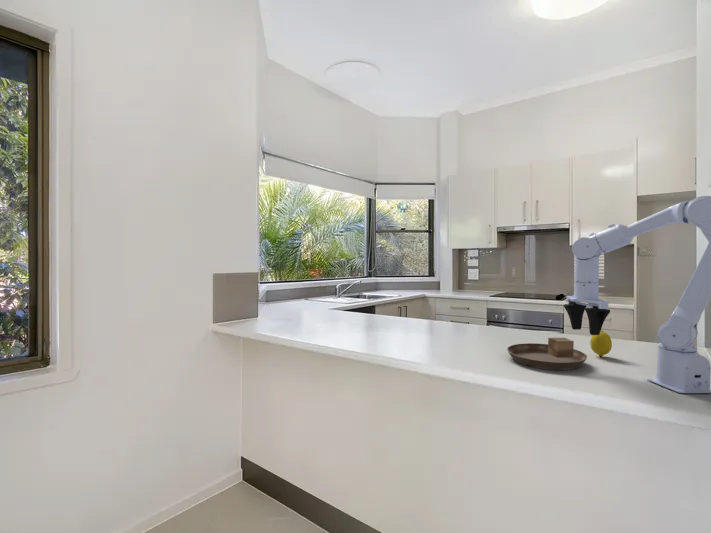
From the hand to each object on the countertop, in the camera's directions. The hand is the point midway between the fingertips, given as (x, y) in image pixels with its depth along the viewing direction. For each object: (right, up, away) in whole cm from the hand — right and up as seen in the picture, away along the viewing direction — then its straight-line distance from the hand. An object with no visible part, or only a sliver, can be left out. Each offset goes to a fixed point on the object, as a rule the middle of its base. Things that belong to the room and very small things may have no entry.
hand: (585, 332), depth 105 cm
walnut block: (-6, -7, +1) cm, 9 cm away
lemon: (+12, -10, +12) cm, 19 cm away
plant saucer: (-8, -10, +6) cm, 14 cm away
